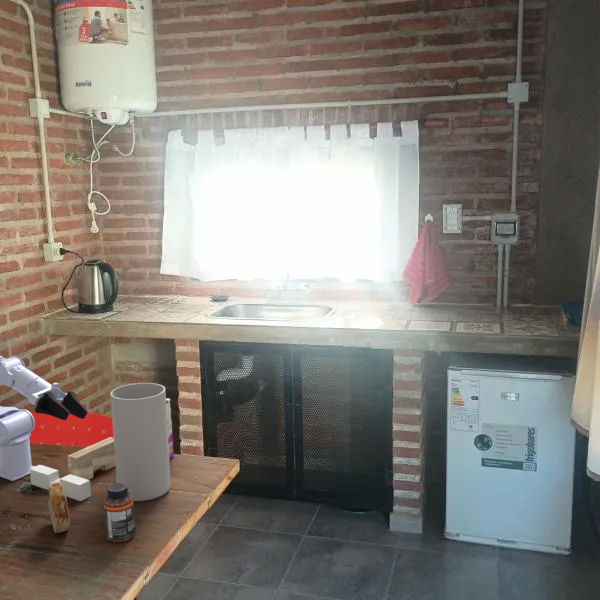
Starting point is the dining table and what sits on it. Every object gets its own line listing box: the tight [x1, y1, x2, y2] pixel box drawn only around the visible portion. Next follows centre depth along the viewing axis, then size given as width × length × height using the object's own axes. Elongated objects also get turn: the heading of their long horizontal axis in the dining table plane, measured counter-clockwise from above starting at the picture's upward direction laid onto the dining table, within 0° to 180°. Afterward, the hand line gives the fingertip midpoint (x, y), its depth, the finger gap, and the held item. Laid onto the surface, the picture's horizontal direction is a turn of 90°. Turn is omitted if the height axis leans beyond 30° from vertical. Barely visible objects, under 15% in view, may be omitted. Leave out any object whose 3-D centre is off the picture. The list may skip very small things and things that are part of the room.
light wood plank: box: [67, 436, 116, 480], centre depth 170 cm, size 3×14×7 cm, turn 148°
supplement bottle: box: [103, 482, 136, 544], centre depth 139 cm, size 6×6×11 cm
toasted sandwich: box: [47, 482, 71, 534], centre depth 143 cm, size 10×4×10 cm, turn 25°
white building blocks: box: [29, 464, 92, 502], centre depth 161 cm, size 18×3×4 cm, turn 58°
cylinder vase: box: [110, 382, 172, 502], centre depth 159 cm, size 12×12×25 cm
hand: (76, 415), depth 161 cm, fingers open, 7 cm apart
